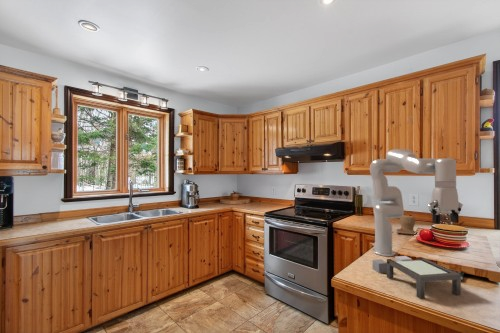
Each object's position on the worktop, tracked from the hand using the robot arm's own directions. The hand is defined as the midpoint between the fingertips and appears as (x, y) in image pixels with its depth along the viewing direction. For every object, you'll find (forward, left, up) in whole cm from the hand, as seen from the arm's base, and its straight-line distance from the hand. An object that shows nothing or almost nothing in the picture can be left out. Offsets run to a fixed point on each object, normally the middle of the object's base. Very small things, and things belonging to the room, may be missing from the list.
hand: (445, 222), depth 107 cm
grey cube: (-20, -18, -30) cm, 40 cm away
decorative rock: (-13, +14, -30) cm, 36 cm away
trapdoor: (-6, -10, -23) cm, 25 cm away
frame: (-3, -10, -30) cm, 31 cm away
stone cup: (-80, +51, -30) cm, 99 cm away
